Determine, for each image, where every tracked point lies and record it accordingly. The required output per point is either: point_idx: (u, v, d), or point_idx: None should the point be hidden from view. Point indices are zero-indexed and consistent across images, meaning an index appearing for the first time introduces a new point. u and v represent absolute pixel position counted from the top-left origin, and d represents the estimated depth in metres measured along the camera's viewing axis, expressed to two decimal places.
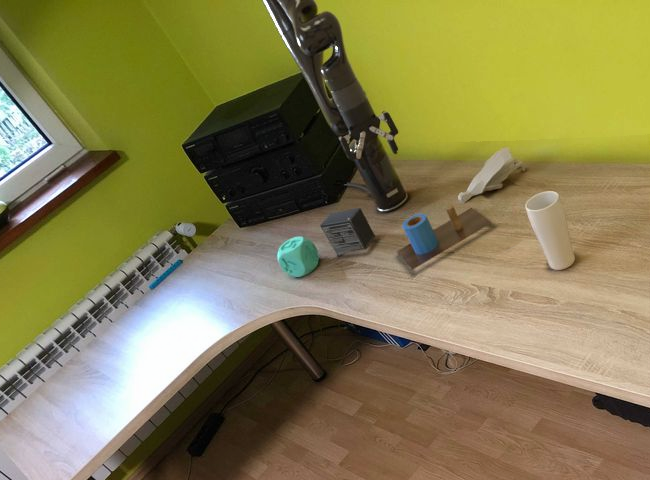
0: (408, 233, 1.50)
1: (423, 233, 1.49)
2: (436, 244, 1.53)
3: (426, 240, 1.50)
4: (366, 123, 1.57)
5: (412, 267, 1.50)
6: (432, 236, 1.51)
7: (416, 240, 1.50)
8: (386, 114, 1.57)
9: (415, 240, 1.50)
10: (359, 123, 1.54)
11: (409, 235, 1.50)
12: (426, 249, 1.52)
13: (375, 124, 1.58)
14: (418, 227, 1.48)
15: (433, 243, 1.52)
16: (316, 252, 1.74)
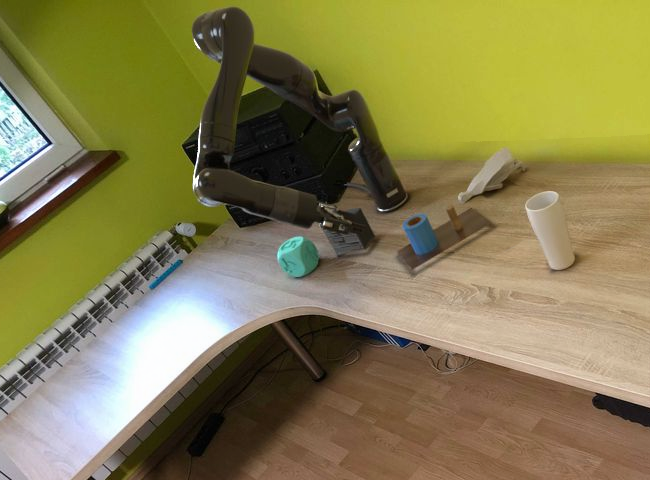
0: (408, 233, 1.50)
1: (423, 233, 1.49)
2: (436, 244, 1.53)
3: (426, 240, 1.50)
4: None
5: (412, 267, 1.50)
6: (432, 236, 1.51)
7: (416, 240, 1.50)
8: (323, 228, 1.37)
9: (415, 240, 1.50)
10: None
11: (409, 235, 1.50)
12: (426, 249, 1.52)
13: None
14: (418, 227, 1.48)
15: (433, 243, 1.52)
16: (316, 252, 1.74)
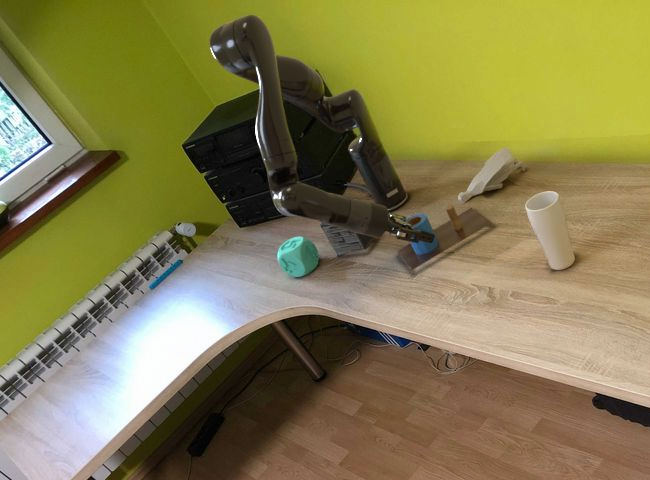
0: None
1: None
2: (436, 244, 1.53)
3: None
4: None
5: (412, 267, 1.50)
6: None
7: None
8: (397, 238, 1.44)
9: None
10: None
11: None
12: (426, 249, 1.52)
13: None
14: (418, 227, 1.48)
15: (433, 243, 1.52)
16: (316, 252, 1.74)
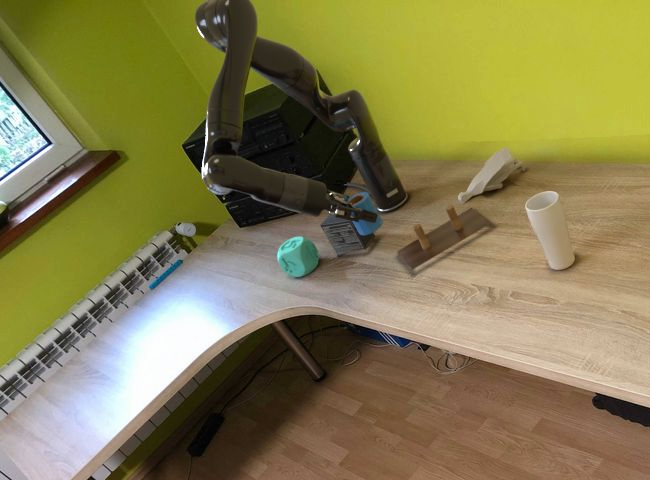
0: None
1: None
2: (380, 224, 1.45)
3: None
4: None
5: (412, 267, 1.50)
6: None
7: None
8: (335, 216, 1.36)
9: None
10: None
11: None
12: (369, 229, 1.44)
13: None
14: (359, 205, 1.40)
15: (376, 223, 1.44)
16: (316, 252, 1.74)
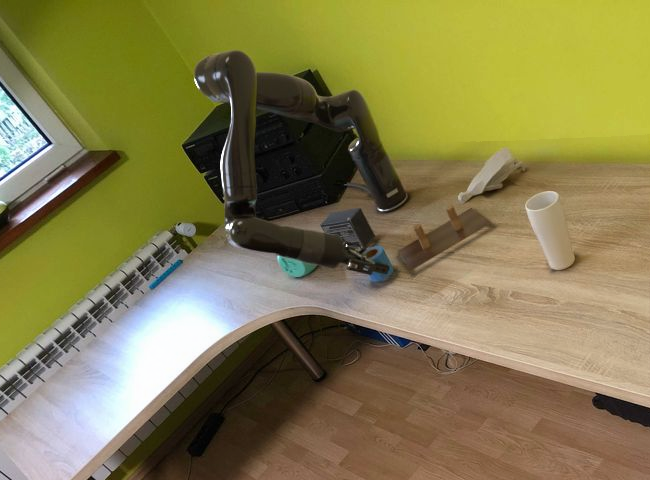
0: (365, 265, 1.50)
1: None
2: None
3: None
4: None
5: (412, 267, 1.50)
6: (389, 268, 1.51)
7: (373, 272, 1.50)
8: None
9: None
10: None
11: None
12: None
13: None
14: (374, 260, 1.48)
15: None
16: None
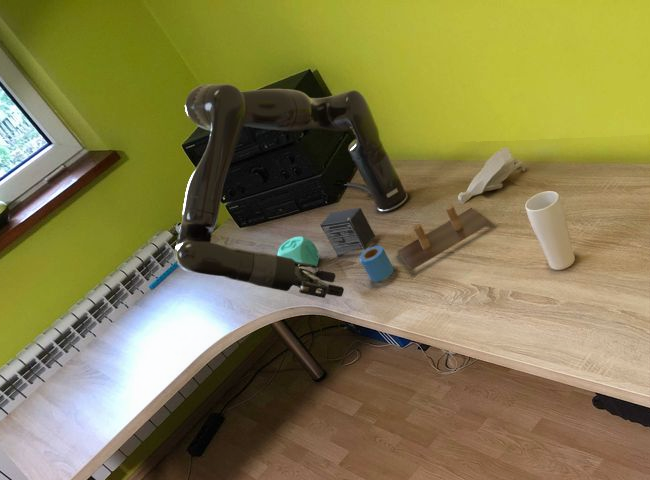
0: (365, 265, 1.50)
1: (379, 266, 1.49)
2: None
3: (383, 272, 1.50)
4: None
5: (412, 267, 1.50)
6: (389, 268, 1.51)
7: (373, 272, 1.50)
8: None
9: (372, 272, 1.50)
10: None
11: (366, 267, 1.50)
12: None
13: None
14: (374, 260, 1.48)
15: None
16: (316, 252, 1.74)
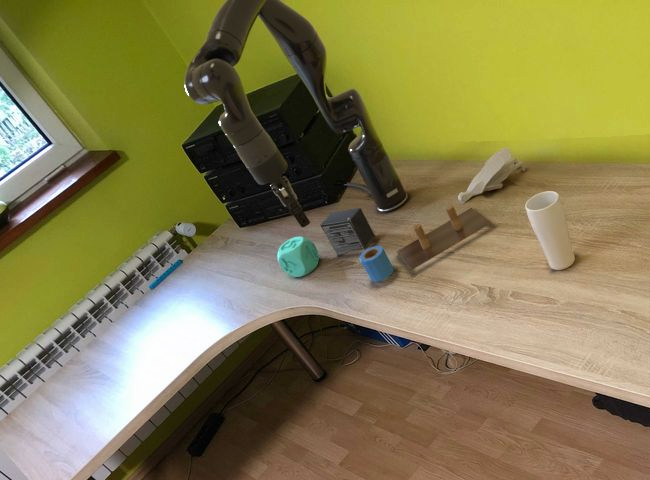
0: (365, 265, 1.50)
1: (379, 266, 1.49)
2: None
3: (383, 272, 1.50)
4: None
5: (412, 267, 1.50)
6: (389, 268, 1.51)
7: (373, 272, 1.50)
8: (277, 193, 1.31)
9: (372, 272, 1.50)
10: None
11: (366, 267, 1.50)
12: None
13: (277, 190, 1.35)
14: (374, 260, 1.48)
15: None
16: (316, 252, 1.74)
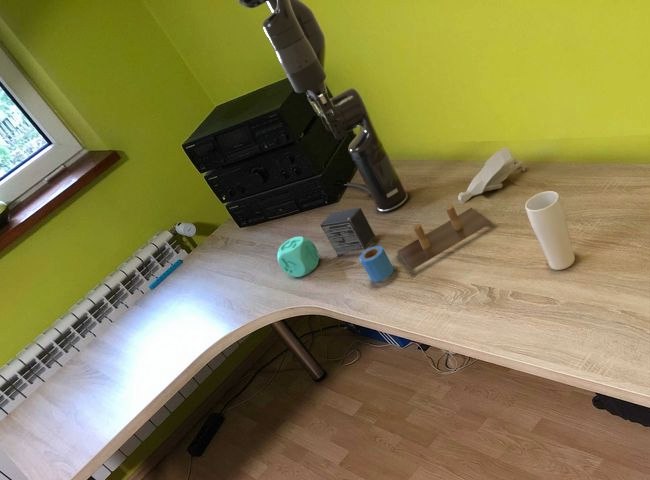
0: (365, 265, 1.50)
1: (379, 266, 1.49)
2: None
3: (383, 272, 1.50)
4: (310, 92, 1.38)
5: (412, 267, 1.50)
6: (389, 268, 1.51)
7: (373, 272, 1.50)
8: (315, 99, 1.34)
9: (372, 272, 1.50)
10: None
11: (366, 267, 1.50)
12: None
13: (314, 99, 1.37)
14: (374, 260, 1.48)
15: None
16: (316, 252, 1.74)
